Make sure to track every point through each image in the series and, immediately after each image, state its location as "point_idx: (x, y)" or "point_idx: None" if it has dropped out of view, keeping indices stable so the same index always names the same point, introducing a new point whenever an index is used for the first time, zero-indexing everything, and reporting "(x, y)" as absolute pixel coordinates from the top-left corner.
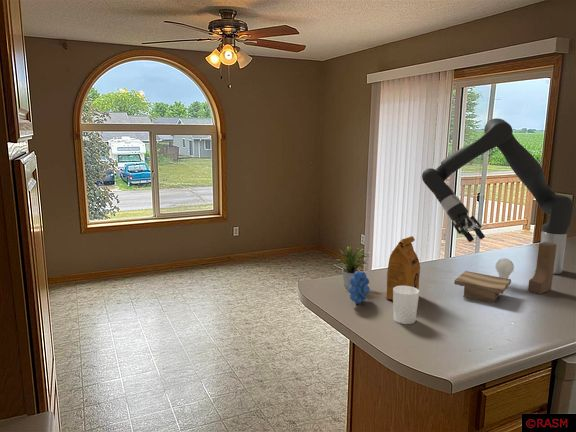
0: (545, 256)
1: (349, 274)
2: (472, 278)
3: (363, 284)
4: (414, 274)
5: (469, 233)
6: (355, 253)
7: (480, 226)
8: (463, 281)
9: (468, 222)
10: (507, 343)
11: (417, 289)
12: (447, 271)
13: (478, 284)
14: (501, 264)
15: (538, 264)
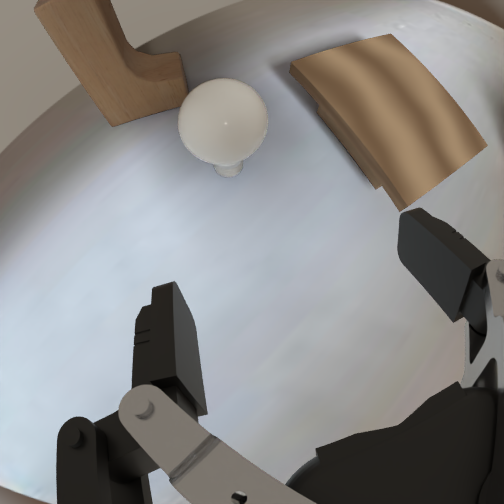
0: (109, 6)
1: None
2: (430, 125)
3: None
4: None
5: (462, 250)
6: None
7: (86, 428)
8: (469, 123)
9: (414, 492)
10: (443, 14)
11: None
12: (312, 411)
13: (437, 84)
14: (262, 100)
15: (120, 48)
